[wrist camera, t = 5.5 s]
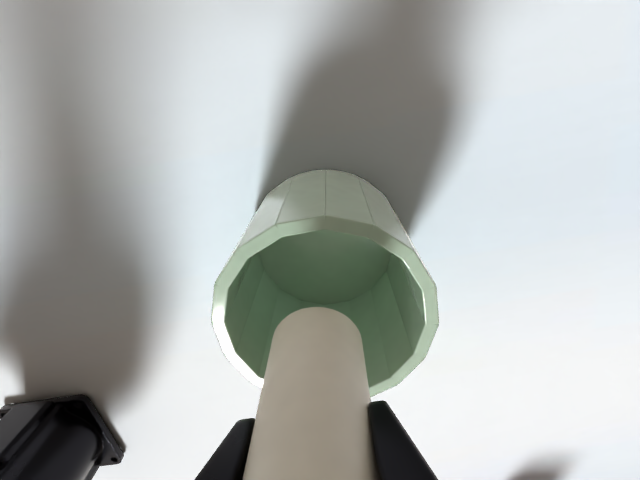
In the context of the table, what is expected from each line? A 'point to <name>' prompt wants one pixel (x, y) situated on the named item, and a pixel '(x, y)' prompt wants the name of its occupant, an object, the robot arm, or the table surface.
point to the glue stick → (313, 403)
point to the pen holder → (327, 276)
